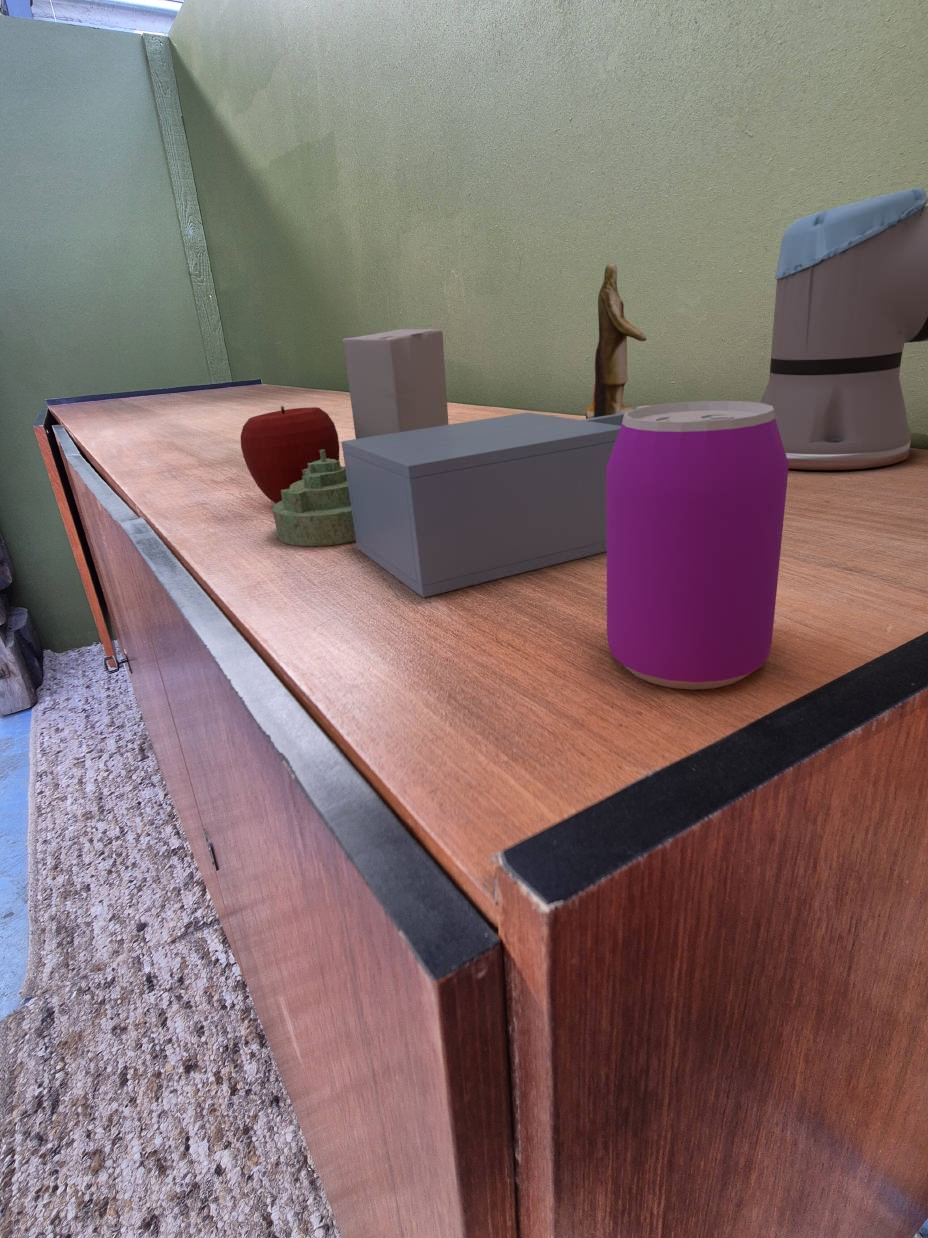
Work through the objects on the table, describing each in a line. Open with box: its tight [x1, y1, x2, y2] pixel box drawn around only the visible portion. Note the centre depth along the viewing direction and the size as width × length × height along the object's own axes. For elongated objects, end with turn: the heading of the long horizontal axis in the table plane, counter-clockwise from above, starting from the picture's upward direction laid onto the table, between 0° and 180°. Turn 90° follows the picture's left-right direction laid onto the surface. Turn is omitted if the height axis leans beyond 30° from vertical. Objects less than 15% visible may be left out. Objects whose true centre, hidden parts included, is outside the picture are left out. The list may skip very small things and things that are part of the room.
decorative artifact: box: [272, 450, 356, 547], centre depth 62 cm, size 10×7×10 cm
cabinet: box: [340, 412, 621, 599], centre depth 53 cm, size 17×14×9 cm
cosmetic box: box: [342, 328, 450, 439], centre depth 72 cm, size 8×7×16 cm
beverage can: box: [606, 400, 790, 691], centre depth 33 cm, size 8×8×12 cm
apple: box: [240, 405, 340, 505], centre depth 72 cm, size 10×10×10 cm
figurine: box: [585, 262, 647, 419], centre depth 72 cm, size 5×8×20 cm, turn 73°
